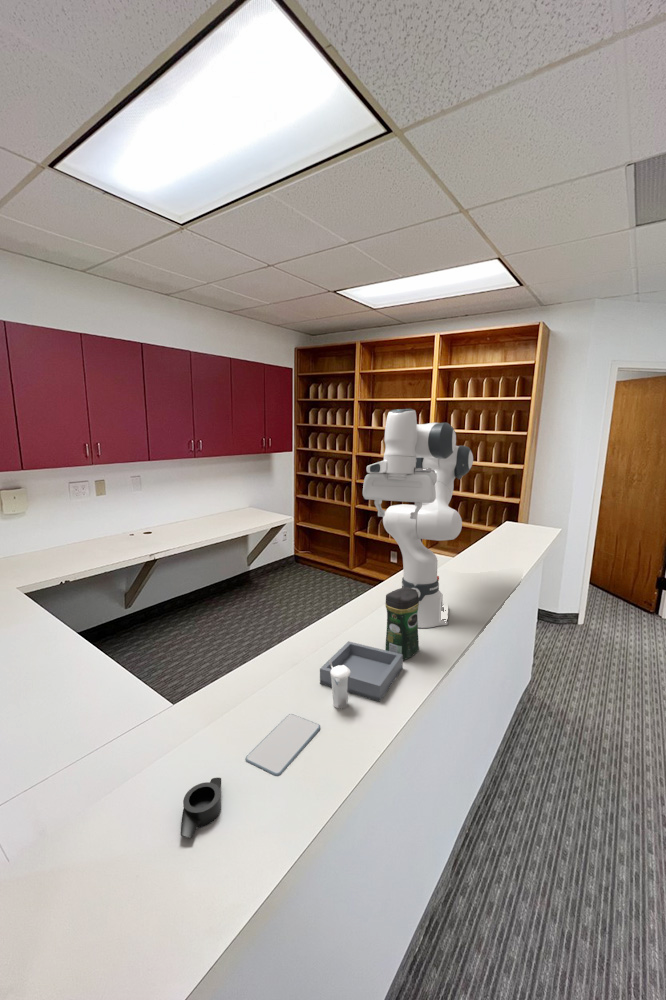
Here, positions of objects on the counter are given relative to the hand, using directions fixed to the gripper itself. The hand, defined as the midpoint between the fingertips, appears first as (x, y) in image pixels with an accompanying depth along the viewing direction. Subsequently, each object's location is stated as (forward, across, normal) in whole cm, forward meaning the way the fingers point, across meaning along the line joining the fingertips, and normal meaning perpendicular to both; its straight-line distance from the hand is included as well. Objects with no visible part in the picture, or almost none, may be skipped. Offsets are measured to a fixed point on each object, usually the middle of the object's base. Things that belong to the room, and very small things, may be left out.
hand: (397, 517), depth 114 cm
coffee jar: (+39, -2, -3) cm, 39 cm away
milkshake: (+42, +3, +26) cm, 49 cm away
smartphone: (+44, +7, +42) cm, 61 cm away
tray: (+40, +3, +13) cm, 42 cm away
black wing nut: (+46, +10, +60) cm, 76 cm away
